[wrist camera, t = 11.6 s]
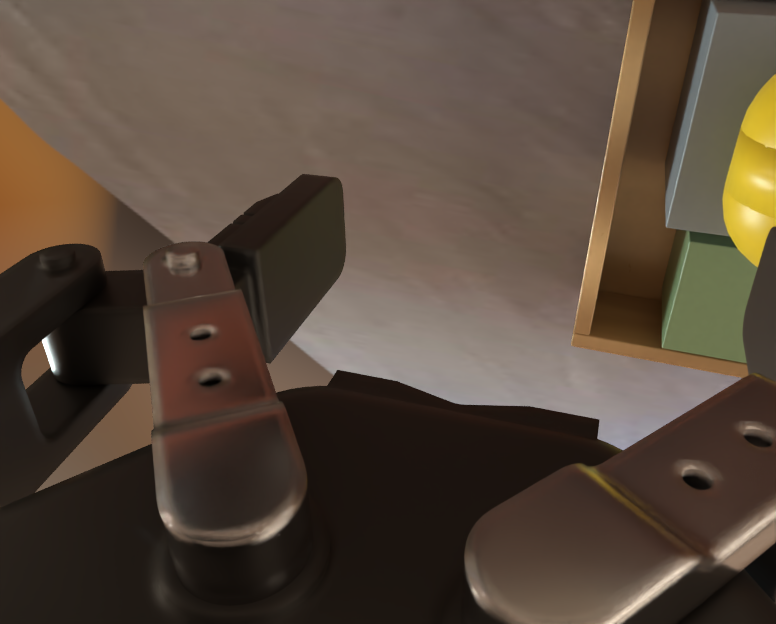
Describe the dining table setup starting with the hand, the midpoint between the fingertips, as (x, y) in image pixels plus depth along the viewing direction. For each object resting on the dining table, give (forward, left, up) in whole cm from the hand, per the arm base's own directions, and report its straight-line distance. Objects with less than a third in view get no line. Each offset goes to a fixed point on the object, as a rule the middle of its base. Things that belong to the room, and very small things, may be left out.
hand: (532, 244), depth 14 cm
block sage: (+10, +8, -24) cm, 27 cm away
